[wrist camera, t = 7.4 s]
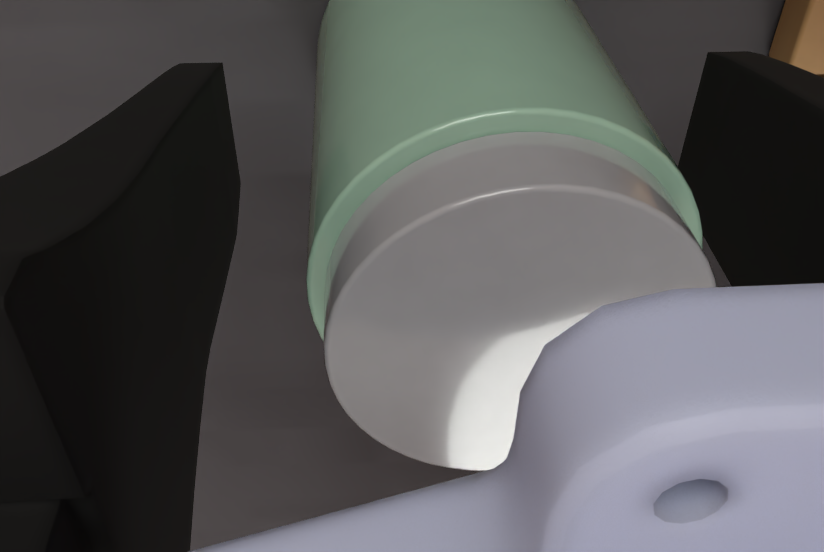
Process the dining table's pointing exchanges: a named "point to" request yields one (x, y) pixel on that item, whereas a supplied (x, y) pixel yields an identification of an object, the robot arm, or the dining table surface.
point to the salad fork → (801, 35)
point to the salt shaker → (476, 211)
